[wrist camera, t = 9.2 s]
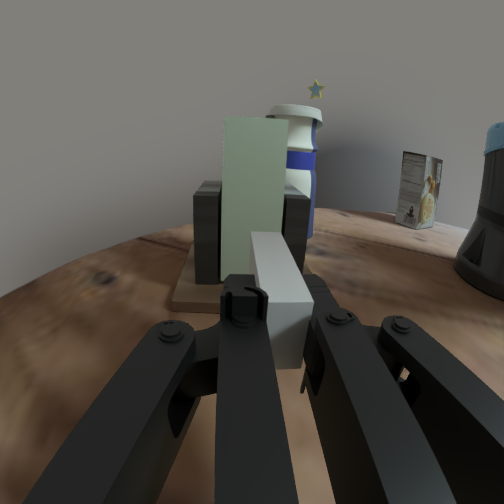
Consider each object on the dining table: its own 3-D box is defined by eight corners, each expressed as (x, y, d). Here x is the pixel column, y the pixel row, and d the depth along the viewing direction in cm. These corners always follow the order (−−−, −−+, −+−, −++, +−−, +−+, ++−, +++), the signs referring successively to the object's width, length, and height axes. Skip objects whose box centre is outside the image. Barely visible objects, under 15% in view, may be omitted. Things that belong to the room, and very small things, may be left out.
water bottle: (273, 221, 50) (281, 80, 40) (319, 230, 46) (331, 81, 37) (251, 232, 43) (259, 68, 34) (305, 244, 39) (317, 66, 30)
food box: (412, 219, 61) (421, 155, 55) (433, 227, 55) (443, 160, 50) (393, 221, 57) (402, 150, 51) (416, 230, 51) (427, 154, 45)
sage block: (276, 281, 25) (288, 120, 20) (220, 280, 25) (224, 116, 20) (266, 246, 34) (273, 126, 29) (223, 245, 33) (227, 124, 28)
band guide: (325, 312, 23) (342, 209, 20) (172, 311, 22) (164, 203, 19) (293, 249, 37) (299, 181, 34) (193, 247, 36) (193, 177, 33)
